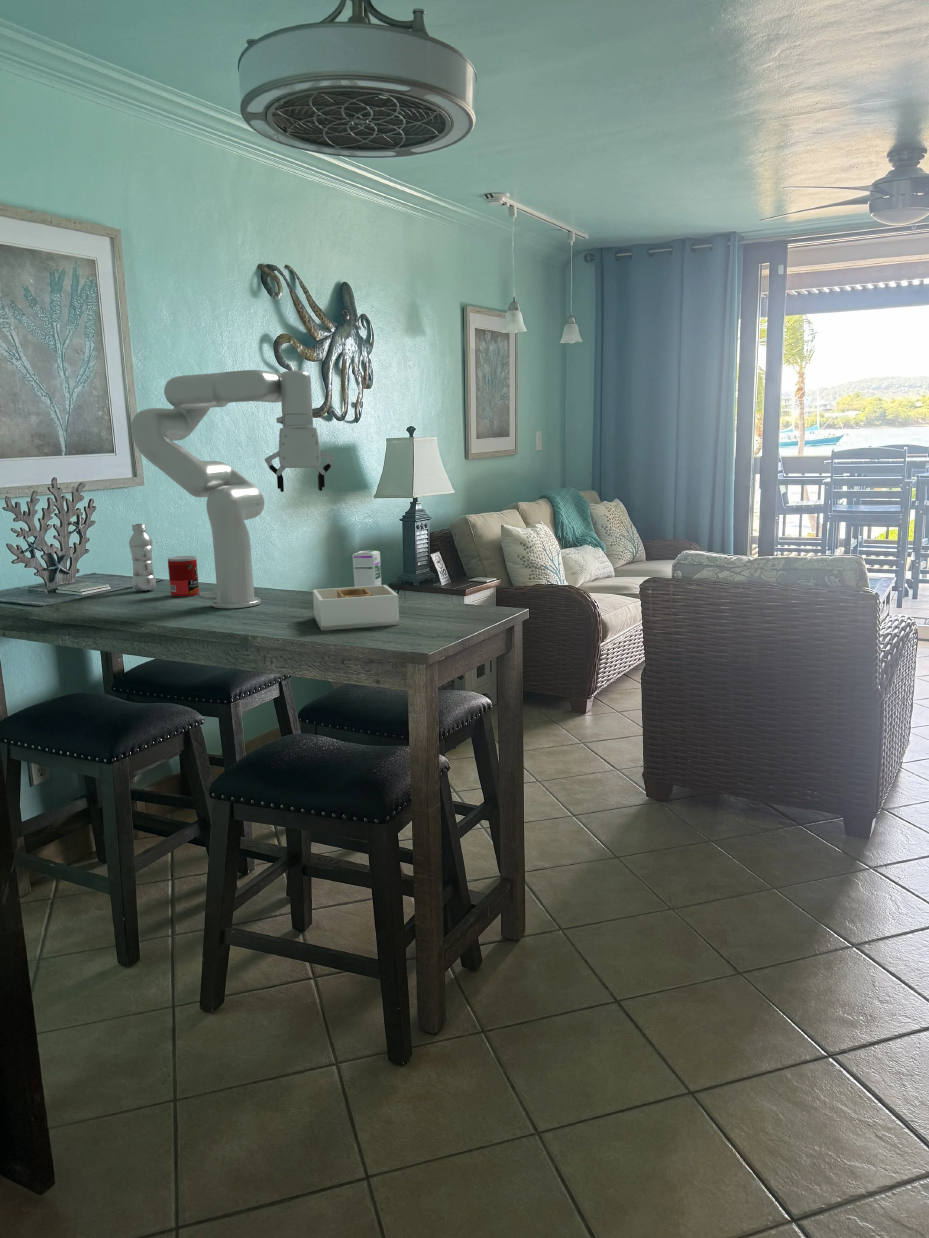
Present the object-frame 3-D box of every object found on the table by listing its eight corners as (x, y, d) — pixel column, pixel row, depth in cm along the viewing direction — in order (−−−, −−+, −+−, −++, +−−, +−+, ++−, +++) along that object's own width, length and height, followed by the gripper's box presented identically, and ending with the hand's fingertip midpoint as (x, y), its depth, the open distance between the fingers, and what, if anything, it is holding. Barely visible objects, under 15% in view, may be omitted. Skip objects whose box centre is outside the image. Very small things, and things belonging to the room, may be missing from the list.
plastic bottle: (132, 590, 266) (125, 524, 263) (156, 588, 269) (149, 522, 265) (133, 593, 261) (126, 525, 257) (157, 591, 263) (151, 524, 259)
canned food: (194, 597, 252) (191, 558, 250) (167, 597, 252) (163, 559, 250) (203, 592, 259) (199, 555, 257) (176, 593, 259) (172, 556, 257)
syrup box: (377, 609, 225) (374, 553, 222) (354, 609, 226) (352, 553, 224) (383, 605, 231) (381, 550, 228) (361, 605, 232) (359, 550, 229)
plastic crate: (321, 630, 201) (319, 600, 200) (314, 617, 216) (312, 589, 215) (399, 624, 206) (398, 594, 204) (387, 612, 221) (385, 584, 219)
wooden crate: (343, 622, 205) (342, 596, 204) (337, 614, 215) (336, 590, 213) (373, 619, 207) (372, 594, 206) (366, 612, 216) (365, 588, 215)
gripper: (263, 422, 215) (267, 493, 219) (334, 421, 220) (337, 490, 223) (261, 422, 223) (265, 491, 226) (330, 422, 227) (333, 489, 230)
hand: (301, 491), depth 225 cm, fingers open, 9 cm apart
